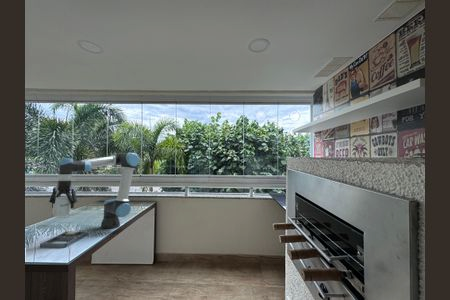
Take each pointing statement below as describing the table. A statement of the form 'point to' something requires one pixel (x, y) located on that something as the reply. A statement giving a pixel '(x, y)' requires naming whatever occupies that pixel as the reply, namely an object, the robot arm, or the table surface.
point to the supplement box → (61, 206)
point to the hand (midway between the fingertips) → (62, 213)
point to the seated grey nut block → (71, 234)
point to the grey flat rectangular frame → (61, 238)
